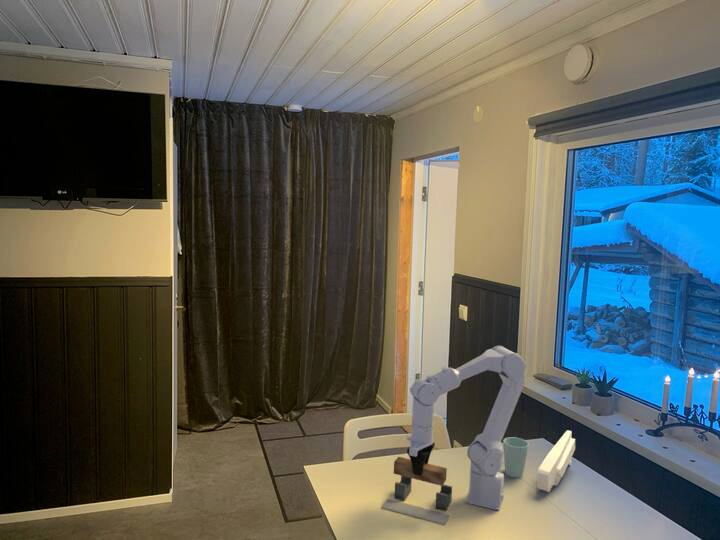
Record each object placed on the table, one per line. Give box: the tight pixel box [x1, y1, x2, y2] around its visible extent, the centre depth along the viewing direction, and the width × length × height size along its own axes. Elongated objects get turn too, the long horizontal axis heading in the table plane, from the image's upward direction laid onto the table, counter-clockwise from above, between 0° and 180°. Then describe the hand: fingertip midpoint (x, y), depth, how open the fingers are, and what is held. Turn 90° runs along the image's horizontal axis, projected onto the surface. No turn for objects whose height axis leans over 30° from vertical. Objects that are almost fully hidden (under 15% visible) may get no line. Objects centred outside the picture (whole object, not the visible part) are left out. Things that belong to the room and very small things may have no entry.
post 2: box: [434, 483, 453, 513], centre depth 150 cm, size 3×6×4 cm, turn 156°
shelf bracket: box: [536, 429, 576, 493], centre depth 168 cm, size 6×25×13 cm, turn 143°
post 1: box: [393, 475, 413, 502], centre depth 155 cm, size 3×6×4 cm, turn 156°
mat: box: [380, 498, 451, 526], centre depth 147 cm, size 18×5×1 cm, turn 66°
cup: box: [502, 436, 530, 478], centre depth 171 cm, size 8×8×10 cm
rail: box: [393, 456, 448, 487], centre depth 149 cm, size 14×4×4 cm, turn 65°
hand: (419, 471), depth 149 cm, fingers closed on rail, 3 cm apart
